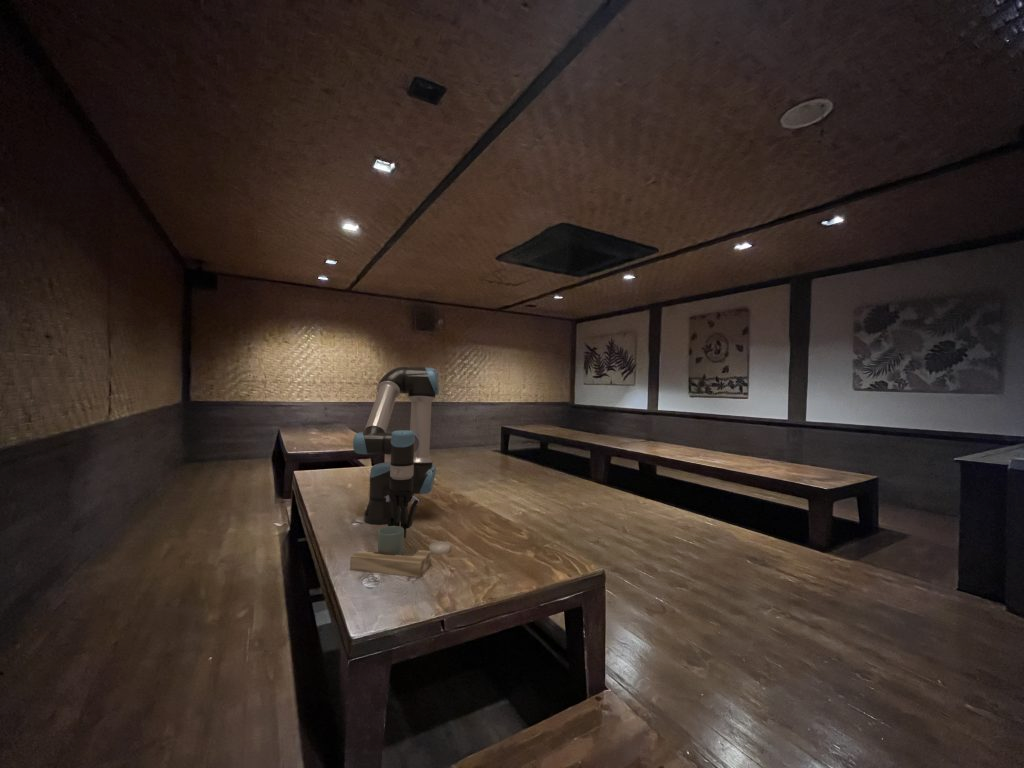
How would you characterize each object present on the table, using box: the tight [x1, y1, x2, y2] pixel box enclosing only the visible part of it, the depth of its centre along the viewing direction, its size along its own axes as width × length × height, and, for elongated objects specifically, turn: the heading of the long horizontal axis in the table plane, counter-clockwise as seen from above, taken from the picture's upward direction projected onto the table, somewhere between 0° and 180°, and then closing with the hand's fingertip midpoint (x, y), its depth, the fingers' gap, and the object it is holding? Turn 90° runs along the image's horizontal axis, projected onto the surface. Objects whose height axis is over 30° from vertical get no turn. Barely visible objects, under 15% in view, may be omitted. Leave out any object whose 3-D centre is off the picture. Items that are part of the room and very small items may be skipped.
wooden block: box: [349, 549, 432, 578], centre depth 121 cm, size 9×22×4 cm, turn 81°
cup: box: [377, 525, 405, 556], centre depth 125 cm, size 8×8×10 cm
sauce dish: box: [428, 540, 451, 555], centre depth 135 cm, size 7×7×2 cm
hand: (399, 548), depth 131 cm, fingers closed
